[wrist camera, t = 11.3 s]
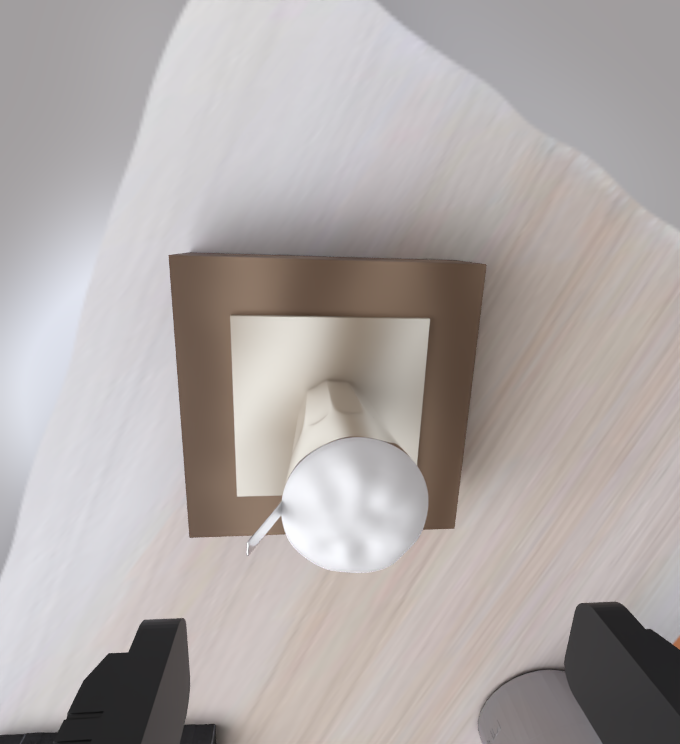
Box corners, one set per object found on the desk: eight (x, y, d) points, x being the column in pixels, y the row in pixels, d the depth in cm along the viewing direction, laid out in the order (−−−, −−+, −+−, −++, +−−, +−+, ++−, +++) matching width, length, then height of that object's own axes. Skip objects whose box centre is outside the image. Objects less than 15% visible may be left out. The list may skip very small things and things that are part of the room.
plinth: (456, 260, 24) (489, 264, 20) (432, 489, 28) (456, 532, 24) (189, 252, 23) (166, 255, 19) (204, 494, 27) (188, 541, 23)
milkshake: (271, 361, 20) (250, 468, 11) (386, 368, 21) (463, 477, 11) (265, 451, 22) (243, 620, 12) (374, 456, 22) (435, 619, 13)
